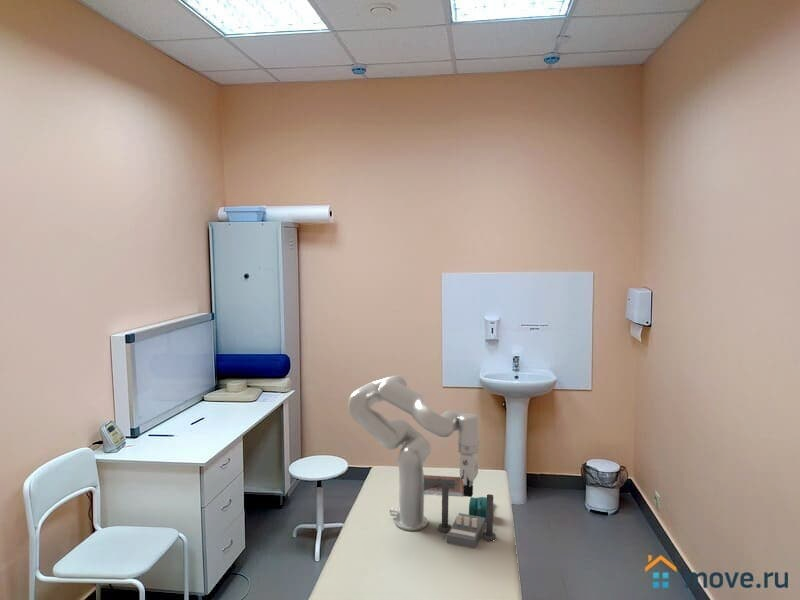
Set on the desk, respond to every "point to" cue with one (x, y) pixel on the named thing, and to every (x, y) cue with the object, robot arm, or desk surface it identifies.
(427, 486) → the picture frame
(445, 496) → the post left
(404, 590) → the desk surface
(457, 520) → the breaker bank
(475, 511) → the teal block
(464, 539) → the breaker panel
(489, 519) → the post right
